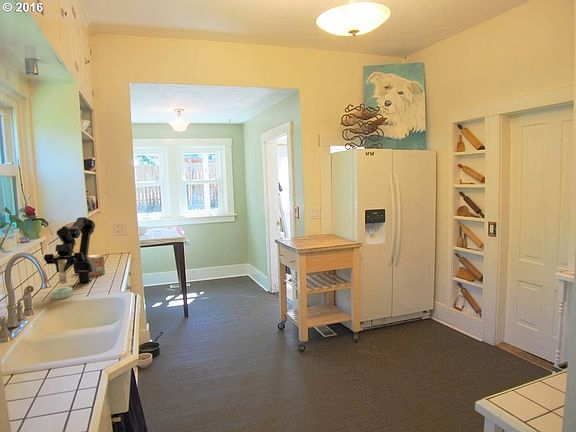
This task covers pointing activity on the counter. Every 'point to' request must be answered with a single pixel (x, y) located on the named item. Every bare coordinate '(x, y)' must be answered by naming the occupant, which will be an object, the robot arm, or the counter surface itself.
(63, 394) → the counter surface
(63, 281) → the peg
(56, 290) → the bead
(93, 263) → the beige printed box
